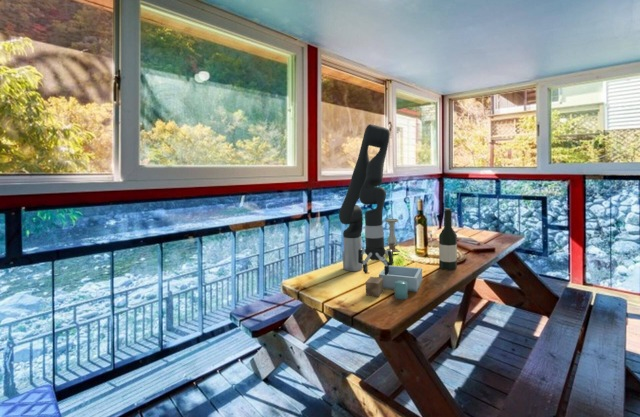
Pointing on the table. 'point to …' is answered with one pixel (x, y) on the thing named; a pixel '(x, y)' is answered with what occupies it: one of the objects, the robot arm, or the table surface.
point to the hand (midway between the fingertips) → (376, 273)
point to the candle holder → (392, 235)
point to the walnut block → (374, 287)
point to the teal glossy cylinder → (401, 289)
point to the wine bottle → (448, 244)
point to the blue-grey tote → (402, 277)
